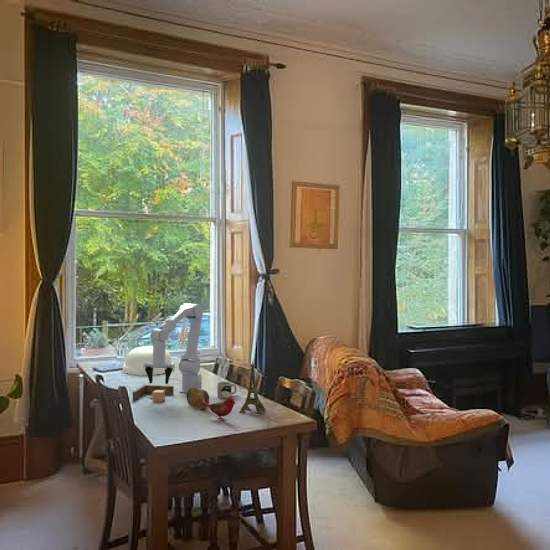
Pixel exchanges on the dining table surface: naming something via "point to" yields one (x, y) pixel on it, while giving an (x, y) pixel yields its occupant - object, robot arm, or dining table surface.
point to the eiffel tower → (254, 399)
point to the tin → (197, 398)
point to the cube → (159, 395)
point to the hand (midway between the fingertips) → (158, 383)
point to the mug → (225, 390)
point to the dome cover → (143, 361)
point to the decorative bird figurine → (221, 407)
